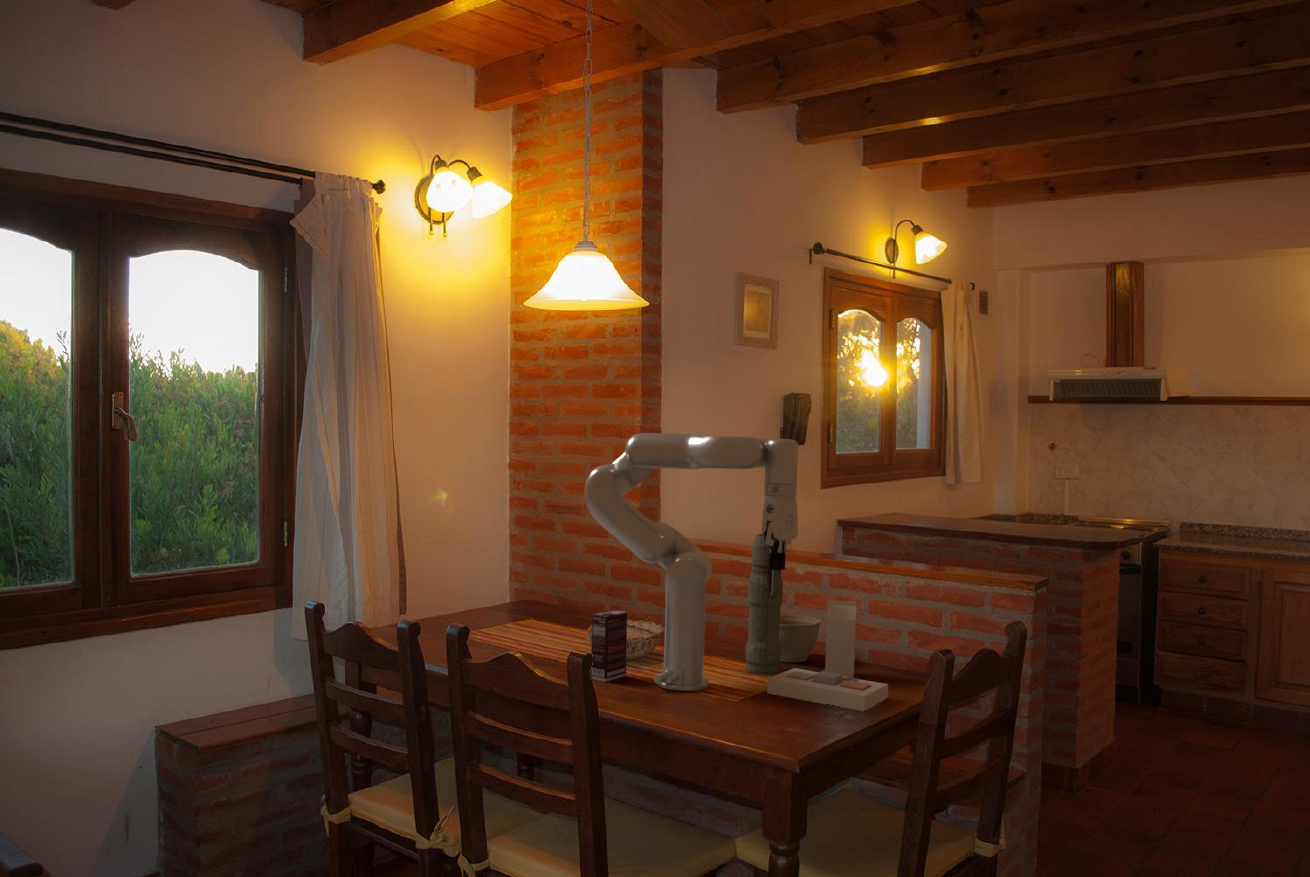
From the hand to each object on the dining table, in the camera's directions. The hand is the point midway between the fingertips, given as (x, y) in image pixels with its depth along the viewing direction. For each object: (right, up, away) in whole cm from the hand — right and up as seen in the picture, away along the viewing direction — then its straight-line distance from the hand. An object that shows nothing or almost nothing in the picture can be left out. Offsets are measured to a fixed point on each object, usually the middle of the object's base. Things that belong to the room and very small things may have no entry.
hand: (777, 569), depth 235 cm
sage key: (+6, -28, +3) cm, 28 cm away
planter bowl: (+8, -30, +38) cm, 48 cm away
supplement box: (-40, -28, +9) cm, 50 cm away
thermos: (-1, -29, +22) cm, 37 cm away
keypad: (+12, -29, -1) cm, 32 cm away
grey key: (+12, -27, -1) cm, 29 cm away
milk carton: (+18, -30, +20) cm, 40 cm away
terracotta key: (+17, -28, -5) cm, 33 cm away
